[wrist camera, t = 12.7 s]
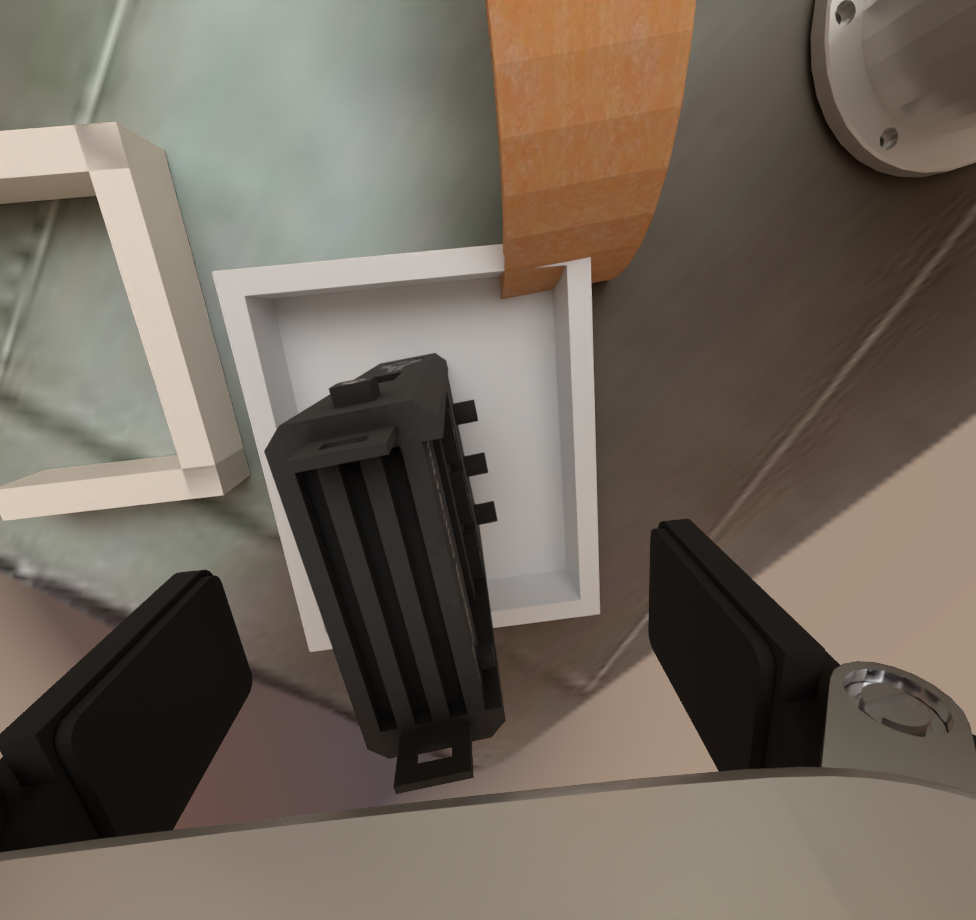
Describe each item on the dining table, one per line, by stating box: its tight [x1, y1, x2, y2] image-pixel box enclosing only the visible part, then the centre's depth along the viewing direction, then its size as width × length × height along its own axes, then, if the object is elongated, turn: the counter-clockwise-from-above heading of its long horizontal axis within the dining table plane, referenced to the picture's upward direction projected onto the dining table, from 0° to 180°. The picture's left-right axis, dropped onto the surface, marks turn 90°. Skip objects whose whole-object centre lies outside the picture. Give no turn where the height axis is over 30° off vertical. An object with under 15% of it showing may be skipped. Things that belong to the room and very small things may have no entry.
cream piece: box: [0, 122, 251, 521], centre depth 21 cm, size 10×15×3 cm, turn 6°
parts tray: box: [212, 244, 600, 652], centre depth 23 cm, size 15×18×4 cm
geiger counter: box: [264, 353, 505, 794], centre depth 17 cm, size 10×4×15 cm, turn 10°
